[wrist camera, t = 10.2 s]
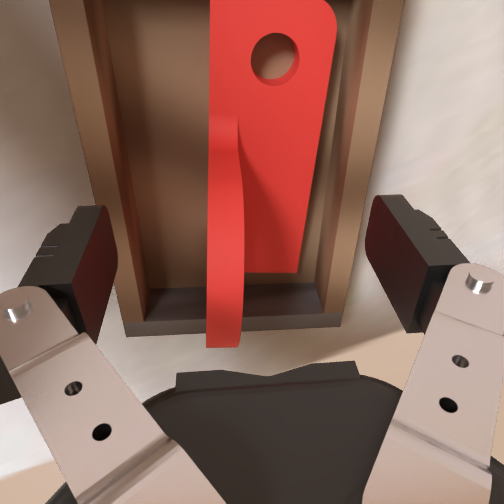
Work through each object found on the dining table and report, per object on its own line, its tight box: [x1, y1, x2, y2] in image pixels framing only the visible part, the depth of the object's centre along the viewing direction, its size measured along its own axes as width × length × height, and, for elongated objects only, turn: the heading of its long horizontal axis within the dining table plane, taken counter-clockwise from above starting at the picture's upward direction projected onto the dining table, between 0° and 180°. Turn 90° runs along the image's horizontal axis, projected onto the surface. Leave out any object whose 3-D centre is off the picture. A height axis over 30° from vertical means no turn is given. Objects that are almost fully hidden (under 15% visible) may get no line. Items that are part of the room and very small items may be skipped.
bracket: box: [206, 0, 337, 348], centre depth 15 cm, size 12×4×8 cm, turn 176°
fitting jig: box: [49, 0, 404, 337], centre depth 18 cm, size 17×11×3 cm, turn 179°
